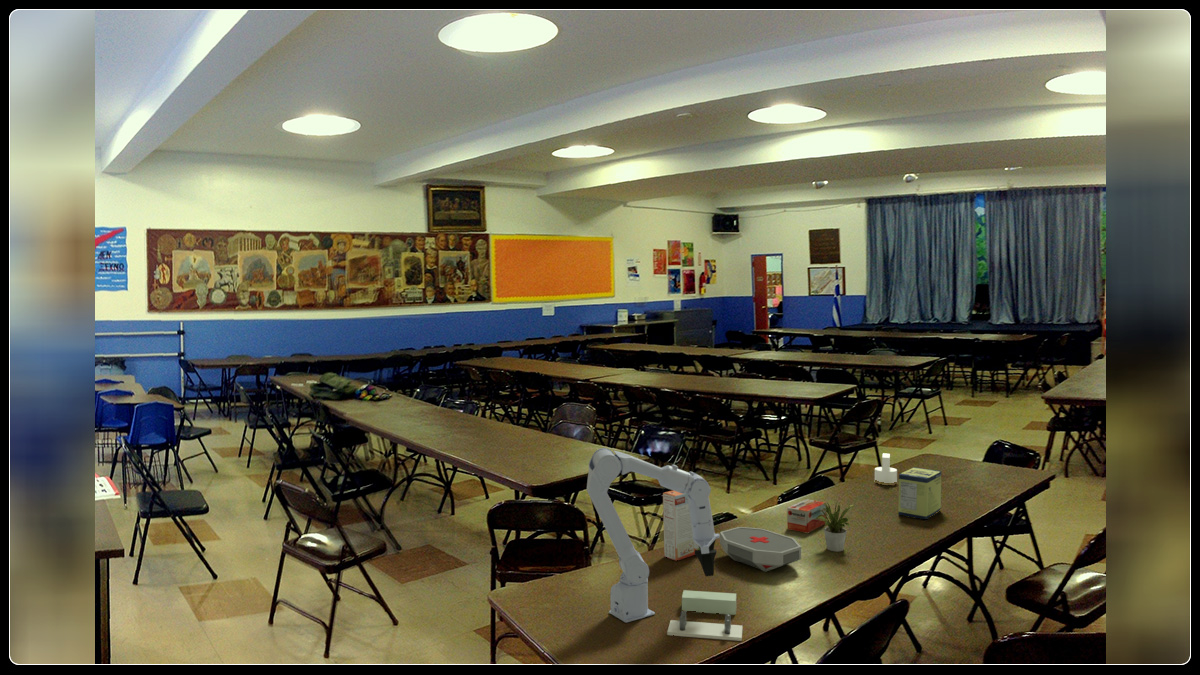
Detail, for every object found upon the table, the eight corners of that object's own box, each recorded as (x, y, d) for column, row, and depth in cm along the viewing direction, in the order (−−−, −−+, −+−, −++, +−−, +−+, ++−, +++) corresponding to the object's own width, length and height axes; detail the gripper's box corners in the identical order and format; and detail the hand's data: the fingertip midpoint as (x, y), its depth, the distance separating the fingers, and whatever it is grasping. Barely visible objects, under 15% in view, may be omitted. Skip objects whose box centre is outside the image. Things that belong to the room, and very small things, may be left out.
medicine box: (806, 519, 290) (806, 498, 289) (827, 524, 285) (827, 502, 284) (786, 529, 278) (786, 507, 278) (807, 534, 273) (808, 511, 273)
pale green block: (681, 612, 210) (681, 597, 209) (683, 604, 215) (683, 590, 214) (735, 615, 207) (735, 601, 207) (736, 608, 212) (736, 593, 212)
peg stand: (667, 634, 195) (667, 619, 195) (670, 623, 202) (670, 607, 202) (741, 640, 192) (741, 624, 191) (742, 628, 198) (742, 613, 198)
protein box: (941, 511, 298) (942, 470, 297) (926, 521, 286) (927, 478, 285) (913, 506, 305) (913, 466, 304) (897, 515, 293) (898, 474, 292)
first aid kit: (710, 558, 250) (771, 581, 230) (710, 534, 250) (771, 556, 230) (748, 546, 261) (810, 568, 241) (748, 524, 260) (810, 543, 240)
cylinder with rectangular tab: (896, 486, 335) (897, 458, 335) (874, 484, 339) (874, 456, 338) (896, 481, 344) (897, 454, 343) (874, 479, 347) (875, 452, 346)
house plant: (804, 552, 254) (804, 502, 253) (812, 539, 267) (812, 491, 266) (850, 558, 248) (851, 507, 247) (856, 545, 261) (857, 496, 259)
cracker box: (693, 547, 260) (693, 484, 259) (706, 551, 256) (706, 487, 254) (662, 556, 251) (662, 491, 250) (676, 561, 247) (675, 495, 245)
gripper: (717, 528, 202) (725, 579, 203) (716, 509, 216) (723, 557, 218) (689, 531, 203) (697, 582, 204) (690, 512, 217) (698, 560, 219)
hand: (709, 569), depth 211 cm, fingers open, 7 cm apart
